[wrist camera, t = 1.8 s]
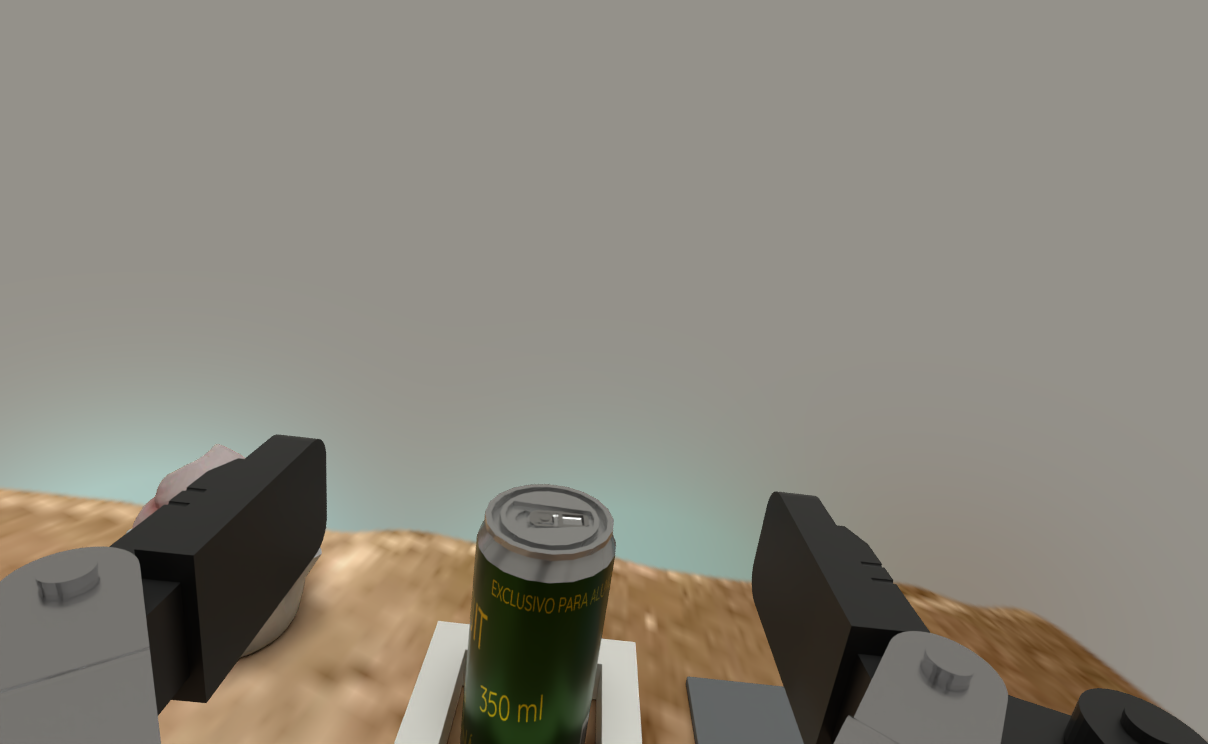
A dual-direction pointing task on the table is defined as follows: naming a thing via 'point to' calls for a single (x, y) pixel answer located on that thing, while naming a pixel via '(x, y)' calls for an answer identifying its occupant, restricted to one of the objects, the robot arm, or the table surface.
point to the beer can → (536, 616)
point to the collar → (445, 677)
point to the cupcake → (180, 482)
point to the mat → (740, 713)
